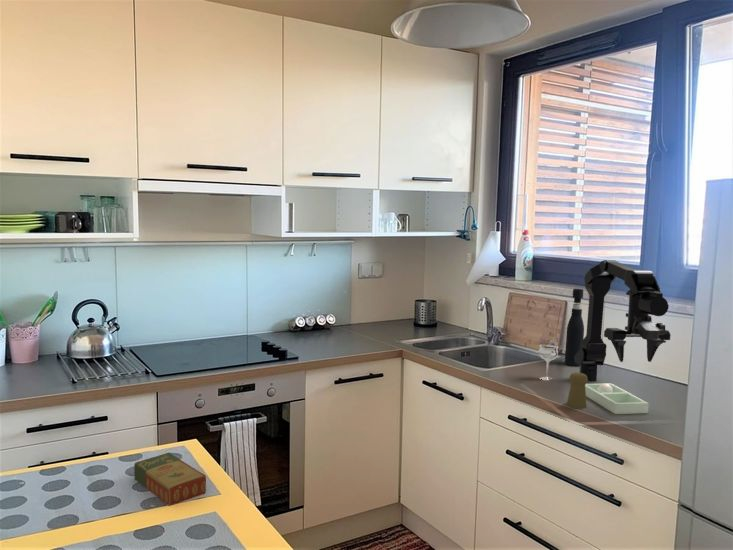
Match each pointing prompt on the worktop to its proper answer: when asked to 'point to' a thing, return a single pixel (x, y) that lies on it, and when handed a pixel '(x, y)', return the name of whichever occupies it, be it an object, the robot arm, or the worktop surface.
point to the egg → (605, 388)
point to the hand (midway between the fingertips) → (635, 361)
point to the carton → (170, 478)
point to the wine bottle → (574, 330)
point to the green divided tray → (617, 400)
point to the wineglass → (548, 355)
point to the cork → (577, 390)
